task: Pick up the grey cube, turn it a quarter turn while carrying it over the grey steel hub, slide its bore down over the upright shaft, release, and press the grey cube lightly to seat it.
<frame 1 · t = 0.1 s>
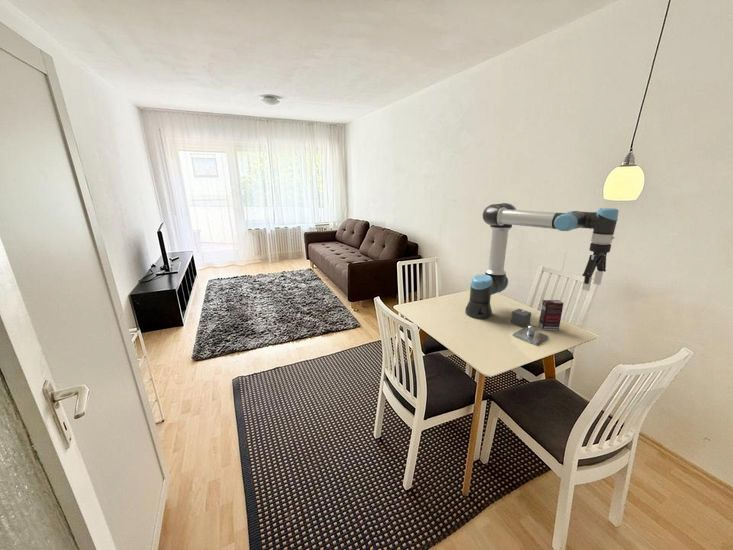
hand: (591, 287, 140), 28 cm above the table, fingers open, 13 cm apart
grey cube: (520, 323, 166), on the table
supplement box: (548, 328, 160), on the table
hub: (530, 336, 152), on the table
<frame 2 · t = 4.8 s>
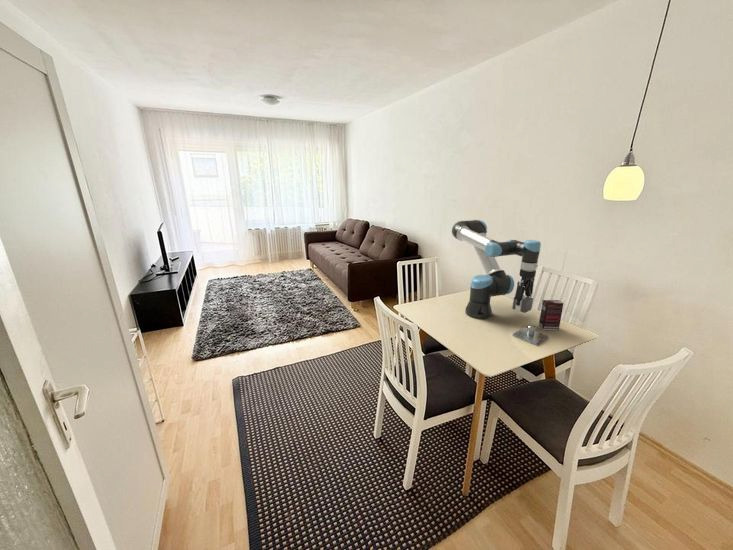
hand: (521, 308, 164), 9 cm above the table, fingers closed on grey cube, 7 cm apart
grey cube: (521, 309, 164), point 8 cm above the table, touching gripper
everything else where it was.
when the fingers open (2 cm above the table, at t = 8.2 s): grey cube stays where it is, resting on hub.
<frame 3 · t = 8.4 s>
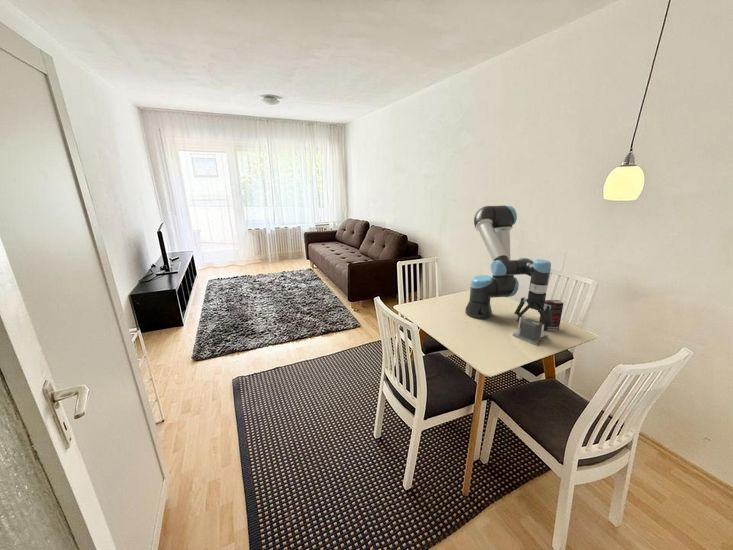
hand: (530, 331, 151), 3 cm above the table, fingers open, 10 cm apart
grey cube: (530, 334, 151), point 1 cm above the table, touching hub
everything else where it was.
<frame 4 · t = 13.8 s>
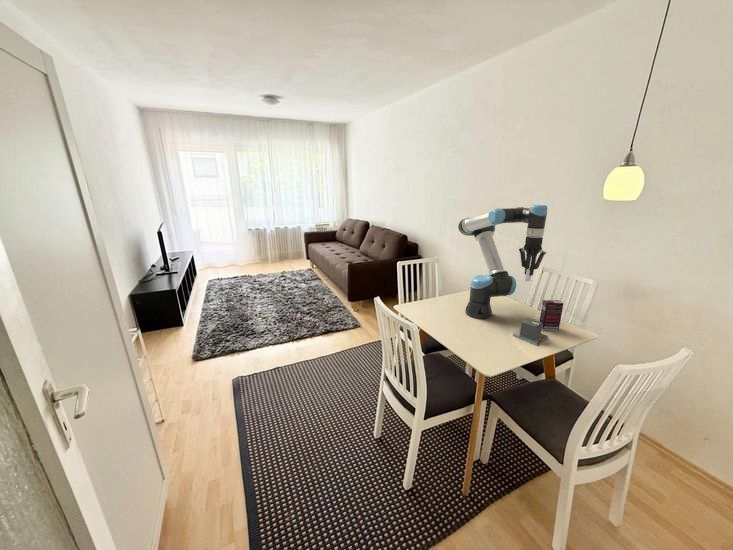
hand: (527, 280, 155), 26 cm above the table, fingers closed
nothing on the table moved.
at the end: grey cube 0.2 cm from the hub (horizontally); grey cube 0.2 cm off-centre on the hub, point 1.3 cm above the hub's base; grey cube tilted 1° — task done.
